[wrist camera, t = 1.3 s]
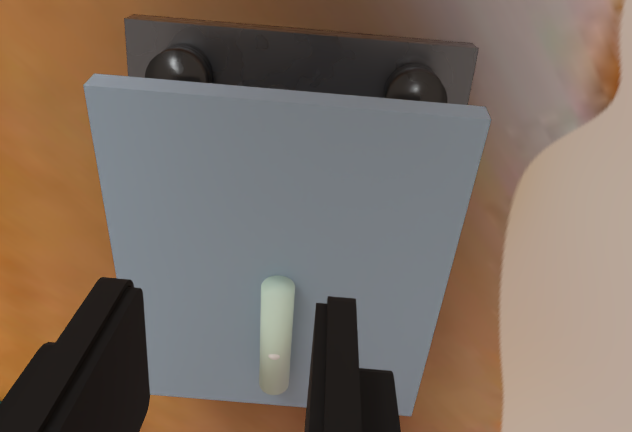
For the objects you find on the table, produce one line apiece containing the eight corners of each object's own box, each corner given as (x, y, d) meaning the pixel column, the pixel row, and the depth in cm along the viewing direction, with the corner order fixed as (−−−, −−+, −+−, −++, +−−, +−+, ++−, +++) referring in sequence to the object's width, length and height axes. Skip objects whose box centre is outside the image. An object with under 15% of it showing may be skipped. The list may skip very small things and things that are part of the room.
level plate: (94, 73, 24) (66, 103, 21) (485, 106, 24) (500, 139, 21) (142, 376, 35) (127, 417, 32) (409, 399, 35) (413, 441, 32)
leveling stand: (133, 14, 31) (85, 34, 25) (472, 43, 31) (503, 70, 25) (153, 332, 40) (121, 401, 34) (412, 354, 40) (425, 426, 34)
